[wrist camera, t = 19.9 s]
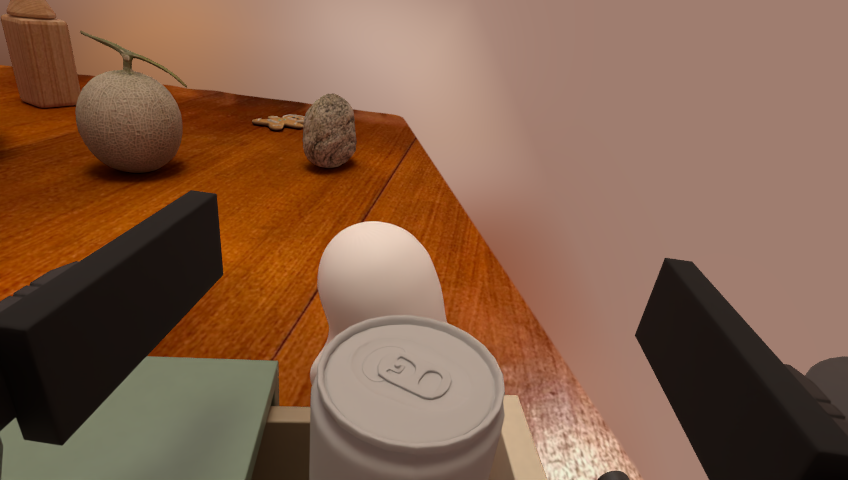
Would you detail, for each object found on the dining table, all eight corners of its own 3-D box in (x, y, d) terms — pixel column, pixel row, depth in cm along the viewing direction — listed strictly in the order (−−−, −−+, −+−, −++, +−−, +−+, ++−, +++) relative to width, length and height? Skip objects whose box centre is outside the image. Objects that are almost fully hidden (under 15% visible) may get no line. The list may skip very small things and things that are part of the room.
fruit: (193, 183, 56) (179, 49, 50) (77, 184, 52) (46, 38, 45) (196, 156, 65) (185, 39, 58) (97, 155, 60) (73, 28, 54)
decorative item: (19, 101, 79) (-16, -37, 70) (63, 97, 84) (37, -31, 75) (40, 109, 76) (7, -33, 67) (84, 105, 81) (59, -27, 72)
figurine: (329, 361, 32) (336, 194, 26) (442, 375, 32) (470, 211, 26) (299, 450, 25) (300, 252, 20) (440, 467, 25) (477, 275, 20)
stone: (366, 163, 71) (371, 95, 67) (325, 178, 63) (328, 102, 59) (333, 153, 74) (335, 87, 69) (289, 166, 66) (289, 92, 61)
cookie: (246, 117, 83) (289, 110, 91) (246, 122, 84) (289, 115, 91) (278, 127, 80) (320, 120, 87) (279, 133, 80) (320, 125, 88)
